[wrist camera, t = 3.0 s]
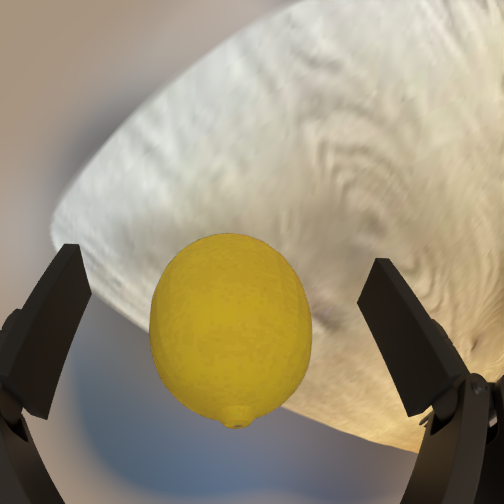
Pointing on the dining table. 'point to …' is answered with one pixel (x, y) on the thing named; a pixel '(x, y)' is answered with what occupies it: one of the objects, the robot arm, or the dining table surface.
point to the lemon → (230, 329)
